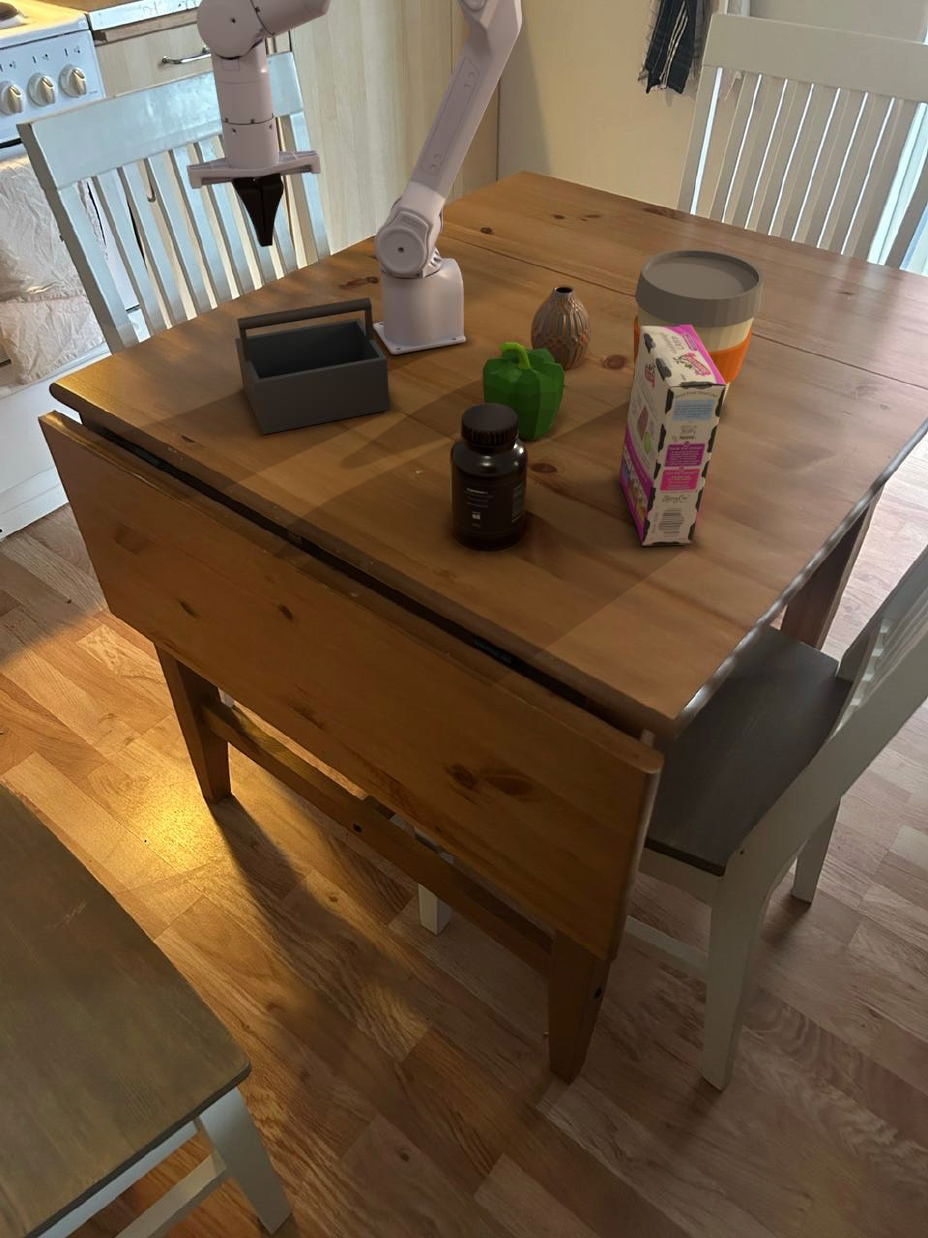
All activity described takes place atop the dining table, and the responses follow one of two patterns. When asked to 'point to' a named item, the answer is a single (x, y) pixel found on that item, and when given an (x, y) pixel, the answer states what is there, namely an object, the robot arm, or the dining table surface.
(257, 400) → the grey tool caddy
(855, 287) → the dining table surface
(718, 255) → the reusable coffee cup
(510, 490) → the supplement bottle
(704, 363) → the candy bar box
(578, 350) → the vase
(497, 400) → the bell pepper
